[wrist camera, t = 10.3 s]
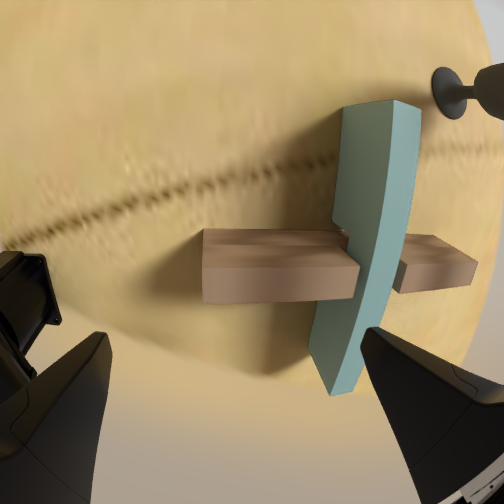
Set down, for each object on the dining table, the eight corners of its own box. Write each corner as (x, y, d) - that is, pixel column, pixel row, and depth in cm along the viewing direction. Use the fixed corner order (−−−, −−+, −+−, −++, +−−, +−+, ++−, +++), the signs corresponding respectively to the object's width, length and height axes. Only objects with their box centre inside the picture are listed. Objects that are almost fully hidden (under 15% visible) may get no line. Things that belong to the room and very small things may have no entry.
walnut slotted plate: (433, 235, 22) (478, 262, 16) (428, 255, 22) (470, 284, 17) (203, 228, 18) (201, 268, 13) (203, 256, 19) (202, 304, 14)
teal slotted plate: (327, 345, 24) (352, 391, 19) (307, 347, 24) (329, 396, 19) (367, 112, 17) (421, 109, 11) (342, 107, 16) (393, 99, 11)
